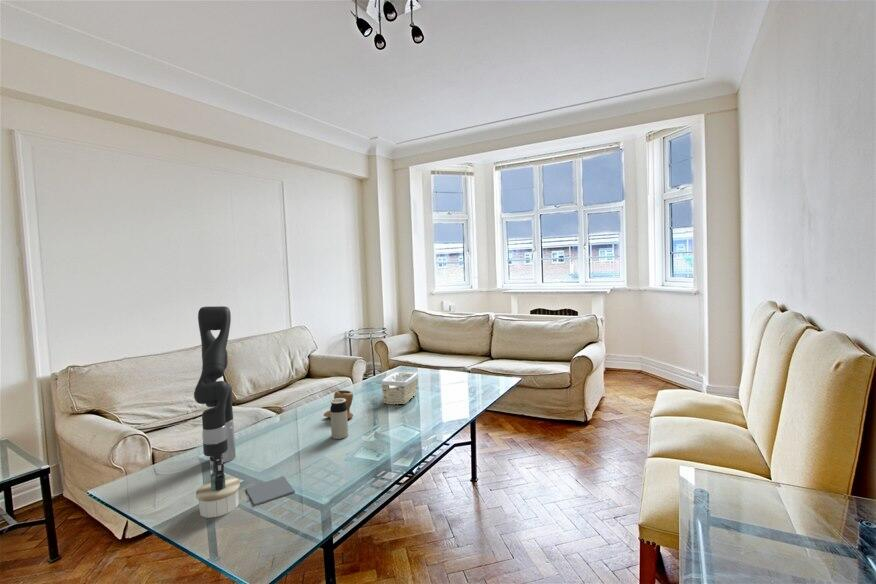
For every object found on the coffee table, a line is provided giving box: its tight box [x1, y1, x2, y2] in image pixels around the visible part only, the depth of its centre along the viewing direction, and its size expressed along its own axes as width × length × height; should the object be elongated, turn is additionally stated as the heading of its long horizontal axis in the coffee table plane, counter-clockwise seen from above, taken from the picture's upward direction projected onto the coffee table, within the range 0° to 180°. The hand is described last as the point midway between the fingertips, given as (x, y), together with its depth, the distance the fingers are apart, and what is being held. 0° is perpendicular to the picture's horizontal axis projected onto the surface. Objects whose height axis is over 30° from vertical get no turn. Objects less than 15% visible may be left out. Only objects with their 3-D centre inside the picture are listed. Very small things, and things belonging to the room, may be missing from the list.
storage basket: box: [380, 371, 419, 405], centre depth 262 cm, size 24×16×15 cm
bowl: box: [198, 489, 240, 519], centre depth 148 cm, size 12×12×6 cm
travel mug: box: [329, 398, 349, 440], centre depth 207 cm, size 8×8×18 cm
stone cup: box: [323, 389, 354, 420], centre depth 234 cm, size 15×12×15 cm
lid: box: [195, 473, 241, 501], centre depth 147 cm, size 14×14×6 cm
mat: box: [245, 476, 296, 507], centre depth 158 cm, size 14×14×1 cm
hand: (218, 486), depth 147 cm, fingers closed on lid, 4 cm apart
